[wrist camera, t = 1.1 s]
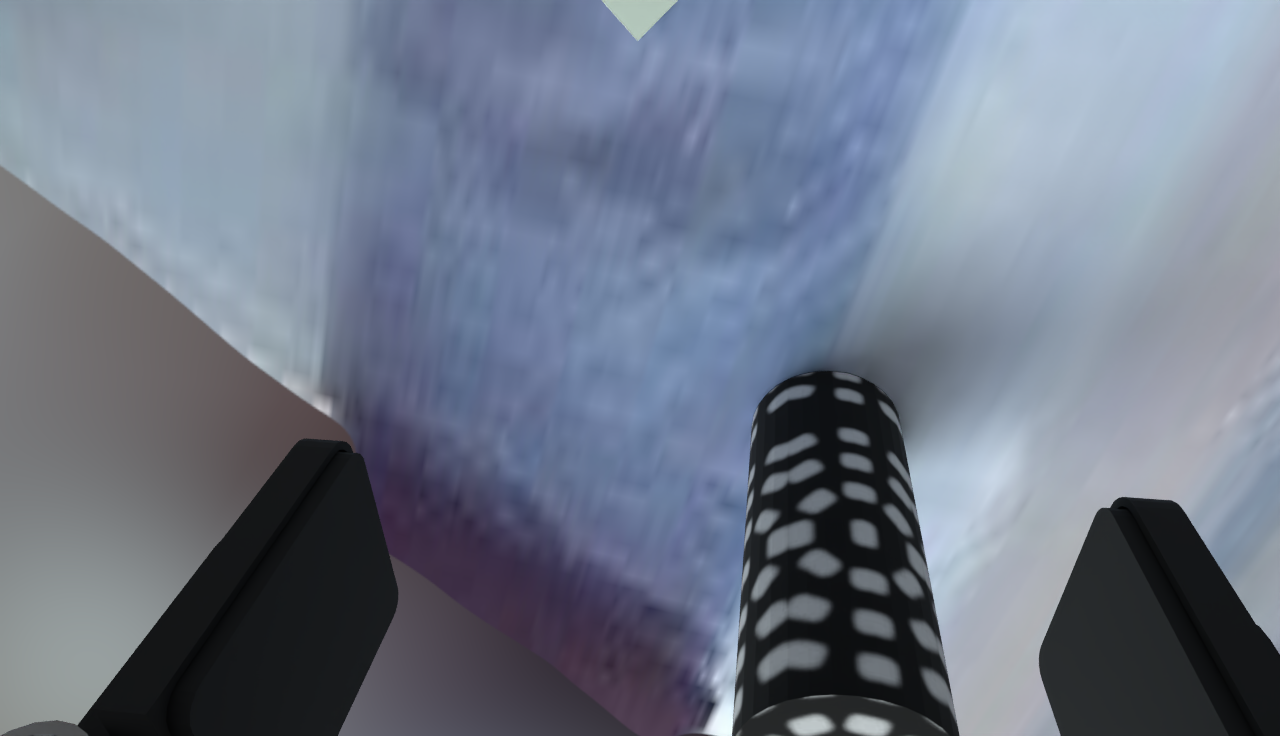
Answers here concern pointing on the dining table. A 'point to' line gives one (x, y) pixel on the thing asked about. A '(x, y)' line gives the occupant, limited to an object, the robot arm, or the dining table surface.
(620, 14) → the sage board
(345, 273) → the dining table surface
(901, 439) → the spotted tube
